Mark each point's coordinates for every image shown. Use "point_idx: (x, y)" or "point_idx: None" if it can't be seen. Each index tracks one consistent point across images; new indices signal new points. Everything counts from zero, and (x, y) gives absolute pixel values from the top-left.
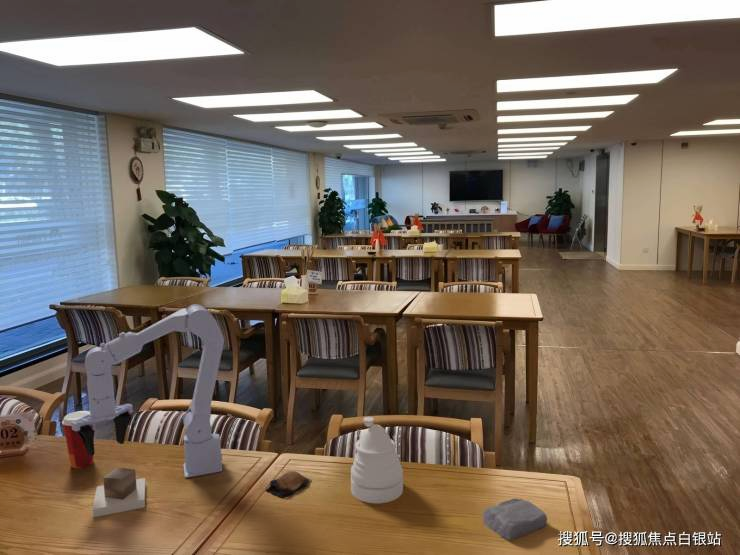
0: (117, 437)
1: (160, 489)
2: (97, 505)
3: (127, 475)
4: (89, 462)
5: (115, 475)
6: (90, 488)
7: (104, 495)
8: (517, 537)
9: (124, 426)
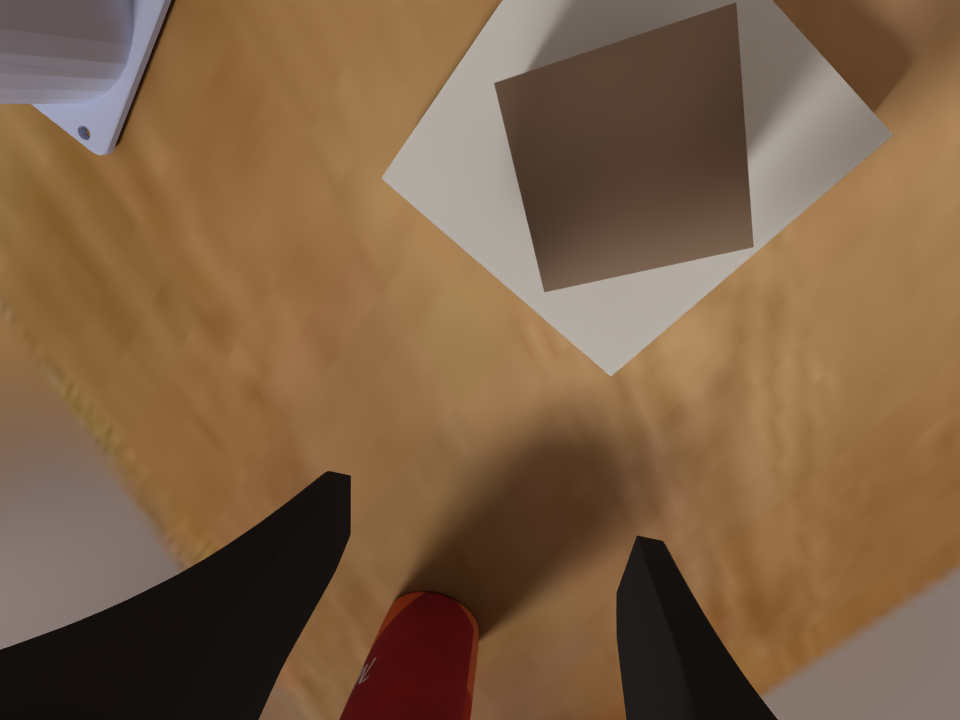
0: (328, 567)
1: (377, 13)
2: (828, 151)
3: (623, 42)
4: (422, 603)
5: (676, 165)
6: (577, 434)
7: None
8: None
9: (198, 608)
